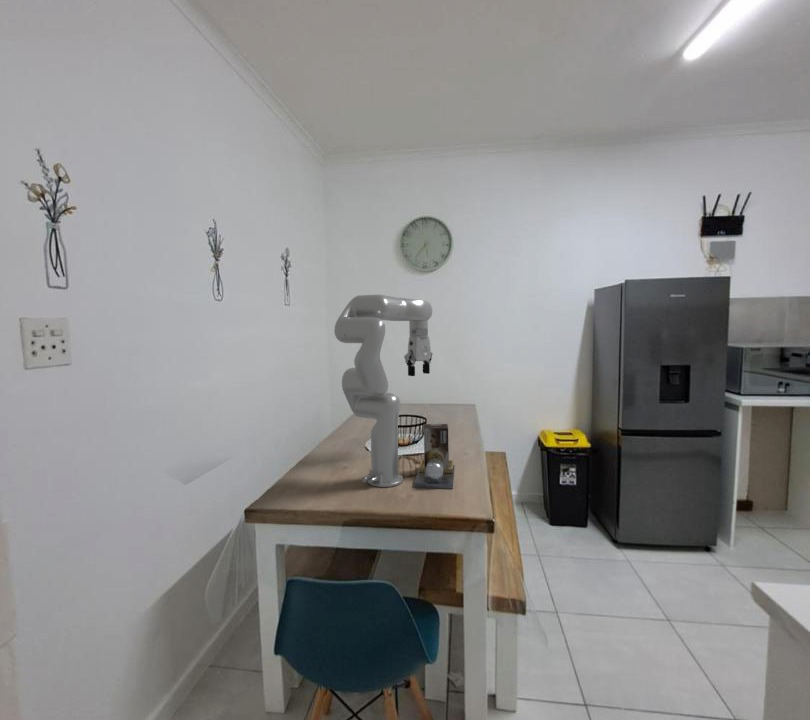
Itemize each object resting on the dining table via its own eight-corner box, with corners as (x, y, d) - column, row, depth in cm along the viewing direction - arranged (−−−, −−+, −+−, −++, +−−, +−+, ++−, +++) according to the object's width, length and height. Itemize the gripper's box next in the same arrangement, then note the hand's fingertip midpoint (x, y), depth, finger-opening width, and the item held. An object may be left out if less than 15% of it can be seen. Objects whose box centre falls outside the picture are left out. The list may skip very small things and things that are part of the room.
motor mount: (452, 488, 142) (452, 467, 142) (414, 487, 144) (414, 465, 143) (454, 468, 162) (454, 449, 161) (420, 467, 164) (420, 448, 163)
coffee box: (448, 465, 161) (448, 423, 159) (449, 471, 154) (448, 427, 153) (424, 465, 161) (423, 423, 160) (424, 470, 155) (423, 427, 153)
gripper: (412, 333, 164) (412, 377, 166) (438, 332, 177) (438, 373, 179) (397, 333, 169) (398, 376, 171) (424, 332, 182) (424, 372, 184)
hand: (419, 374), depth 175 cm, fingers open, 9 cm apart
